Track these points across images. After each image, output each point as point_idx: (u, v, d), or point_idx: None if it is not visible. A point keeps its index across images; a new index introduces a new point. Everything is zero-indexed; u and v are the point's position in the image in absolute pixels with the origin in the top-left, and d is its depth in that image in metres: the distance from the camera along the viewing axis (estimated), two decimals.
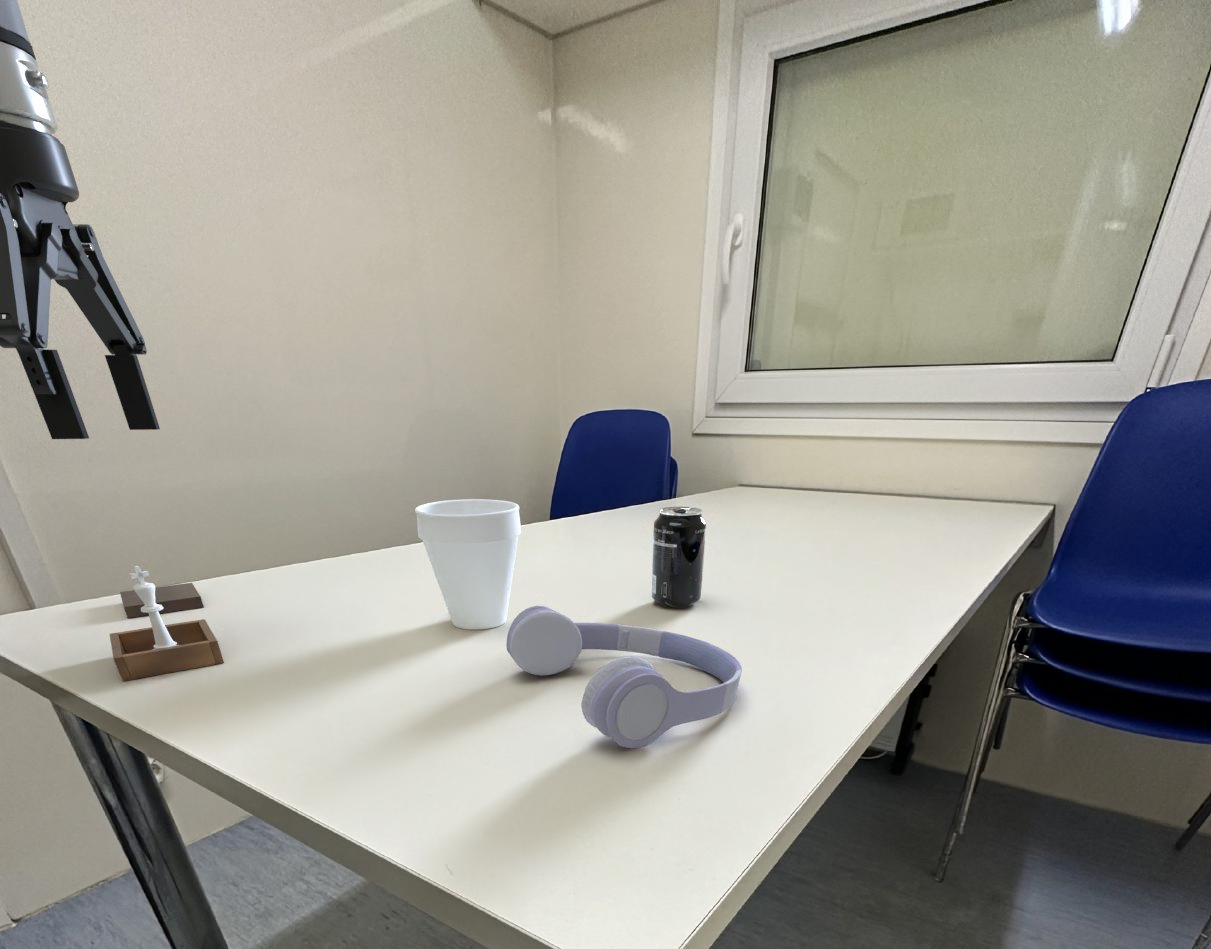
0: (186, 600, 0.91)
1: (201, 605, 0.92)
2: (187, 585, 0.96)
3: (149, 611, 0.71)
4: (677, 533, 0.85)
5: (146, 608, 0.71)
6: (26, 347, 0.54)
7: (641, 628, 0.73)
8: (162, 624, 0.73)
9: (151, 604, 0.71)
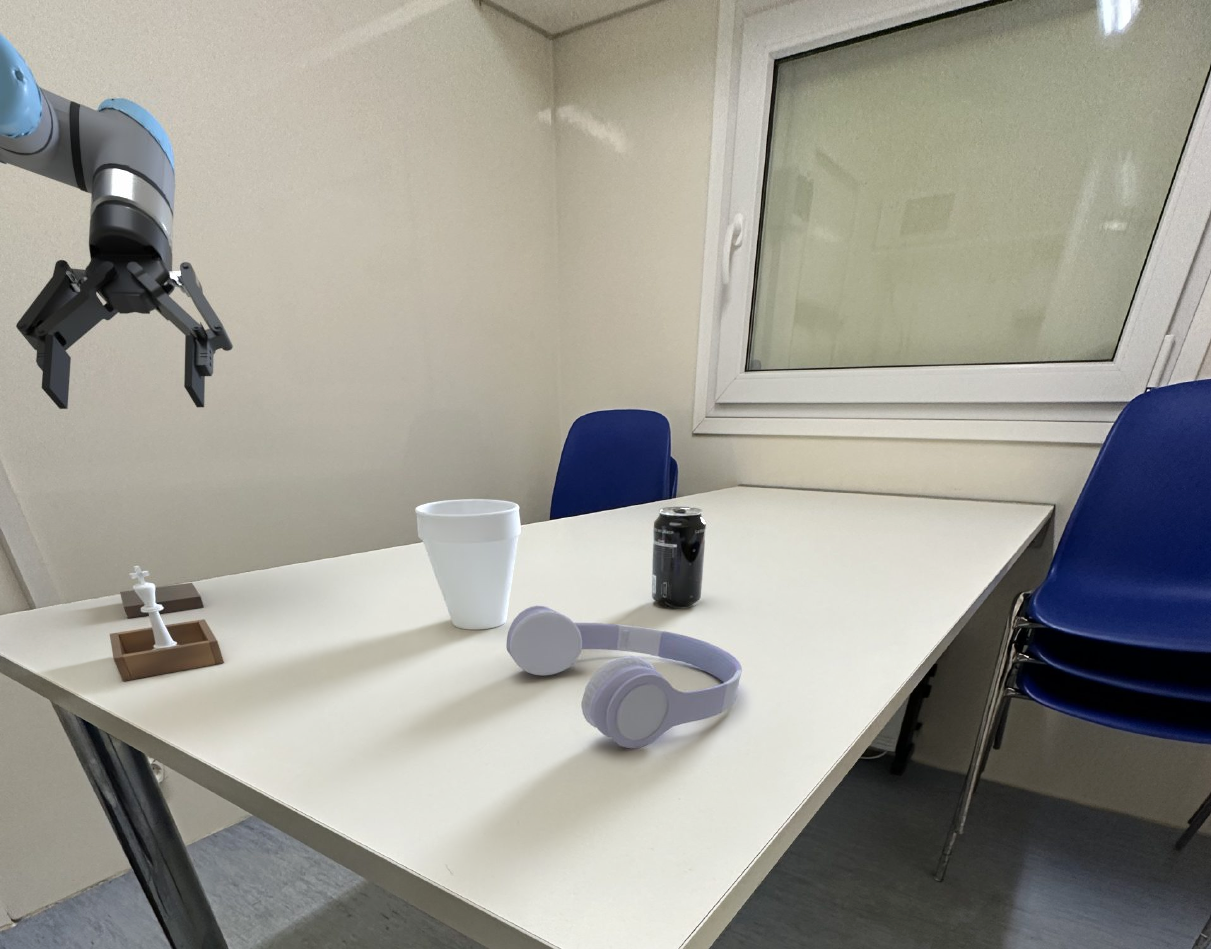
0: (186, 600, 0.91)
1: (201, 605, 0.92)
2: (187, 585, 0.96)
3: (149, 611, 0.71)
4: (677, 533, 0.85)
5: (146, 608, 0.71)
6: (212, 347, 0.73)
7: (641, 628, 0.73)
8: (162, 624, 0.73)
9: (151, 604, 0.71)
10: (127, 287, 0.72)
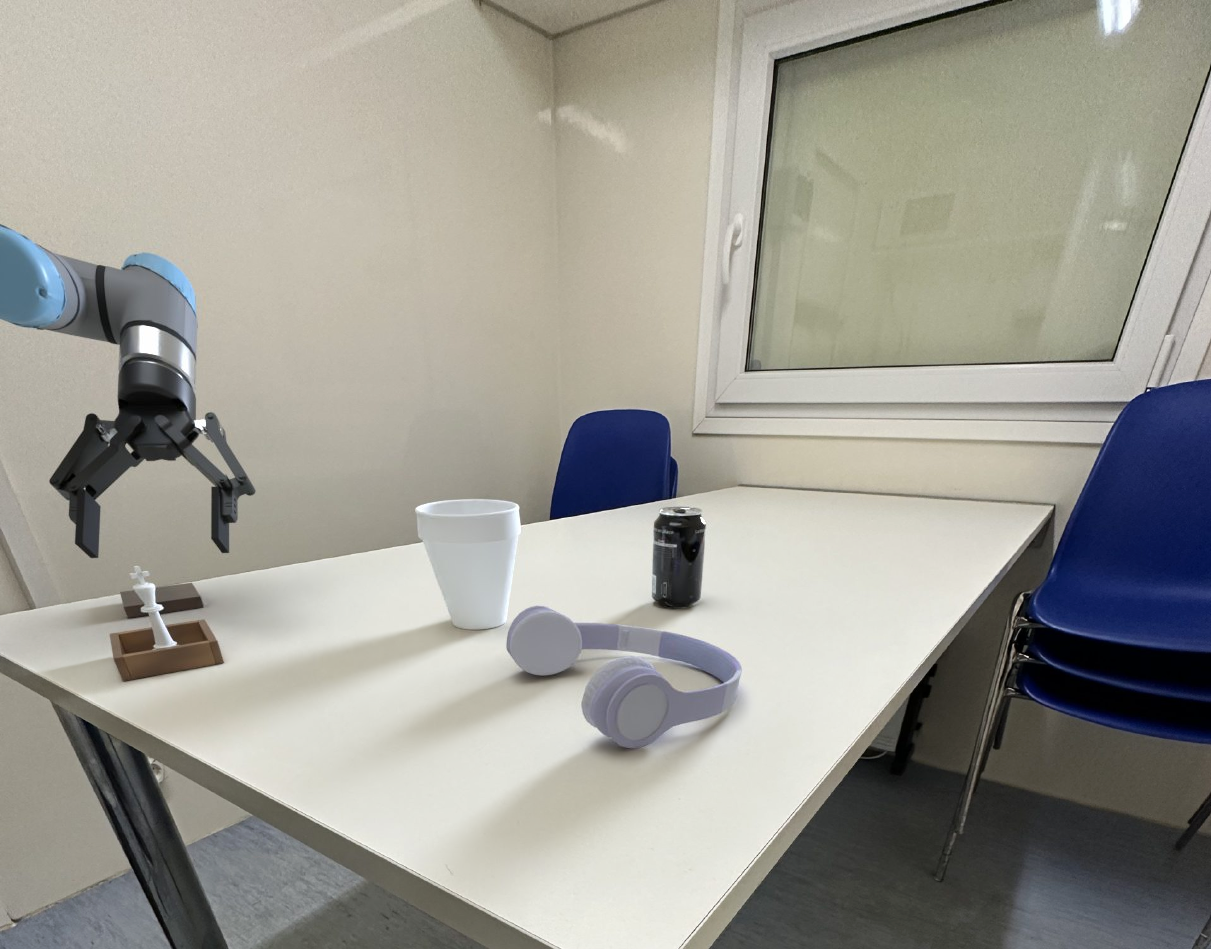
0: (186, 600, 0.91)
1: (201, 605, 0.92)
2: (187, 585, 0.96)
3: (149, 611, 0.71)
4: (677, 533, 0.85)
5: (146, 608, 0.71)
6: (237, 494, 0.76)
7: (641, 628, 0.73)
8: (162, 624, 0.73)
9: (151, 604, 0.71)
10: (155, 438, 0.75)
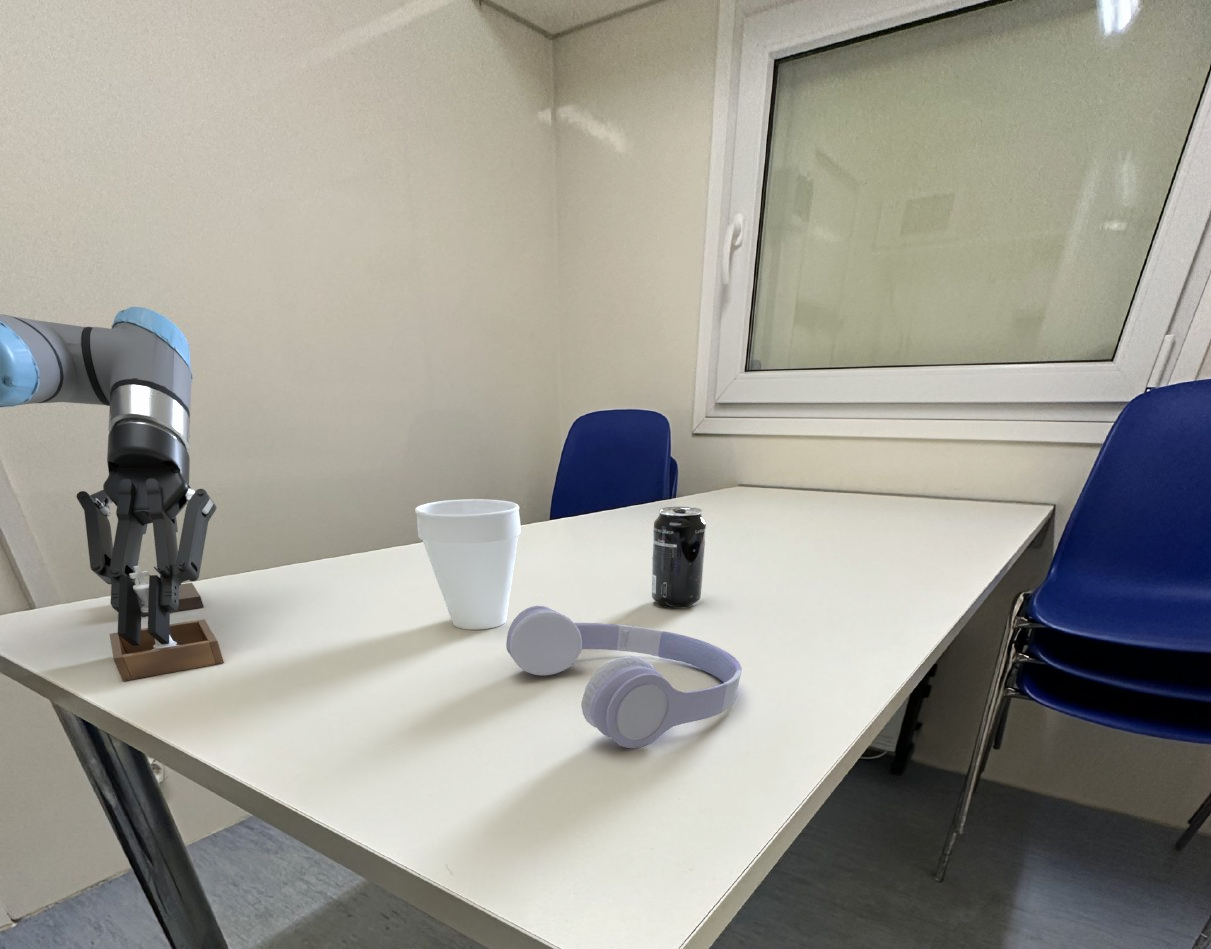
0: (186, 600, 0.91)
1: (201, 605, 0.92)
2: (187, 585, 0.96)
3: None
4: (677, 533, 0.85)
5: (146, 608, 0.71)
6: (178, 581, 0.72)
7: (641, 628, 0.73)
8: None
9: None
10: (146, 502, 0.72)
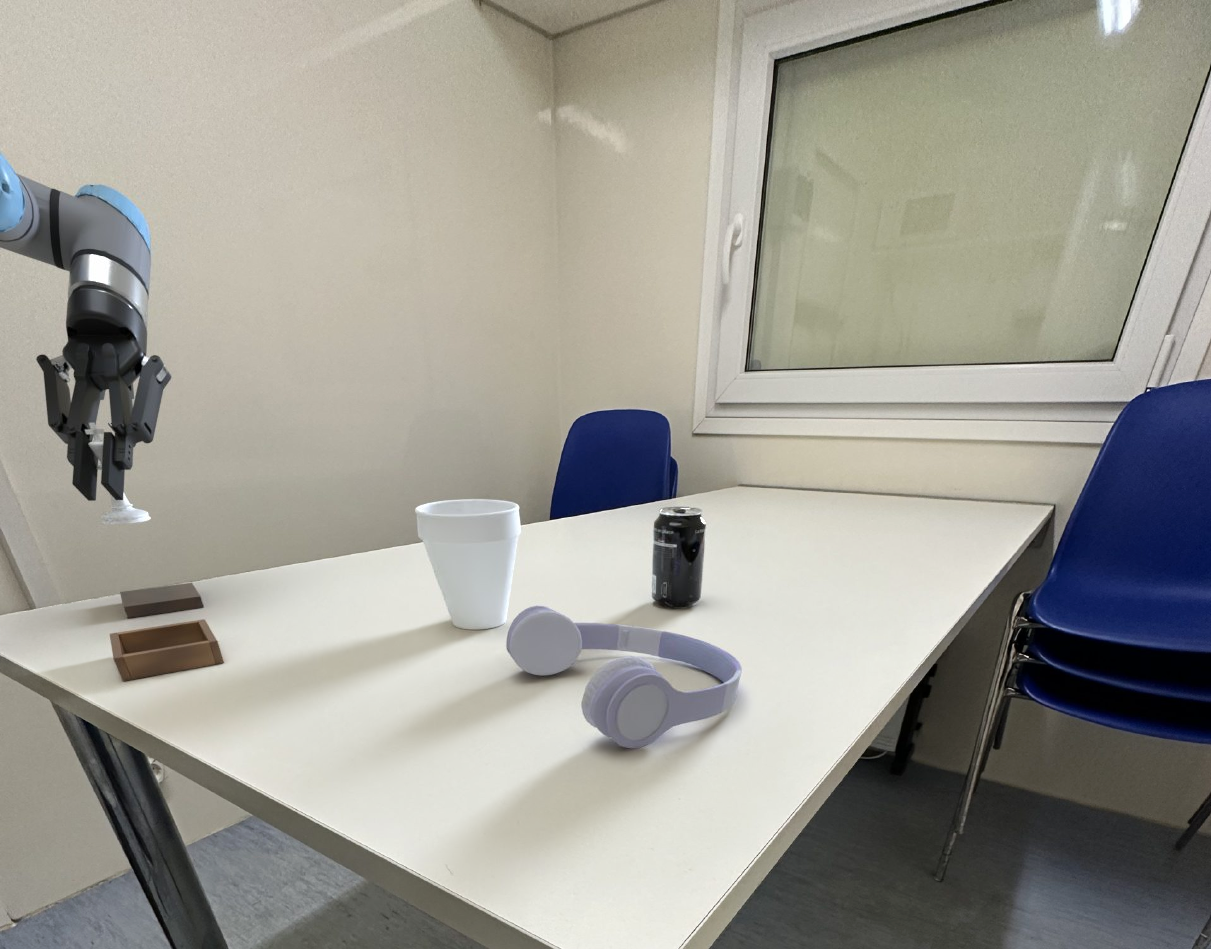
0: (186, 600, 0.91)
1: (201, 605, 0.92)
2: (187, 585, 0.96)
3: None
4: (677, 533, 0.85)
5: (101, 465, 0.75)
6: (132, 441, 0.75)
7: (641, 628, 0.73)
8: None
9: None
10: (102, 366, 0.76)
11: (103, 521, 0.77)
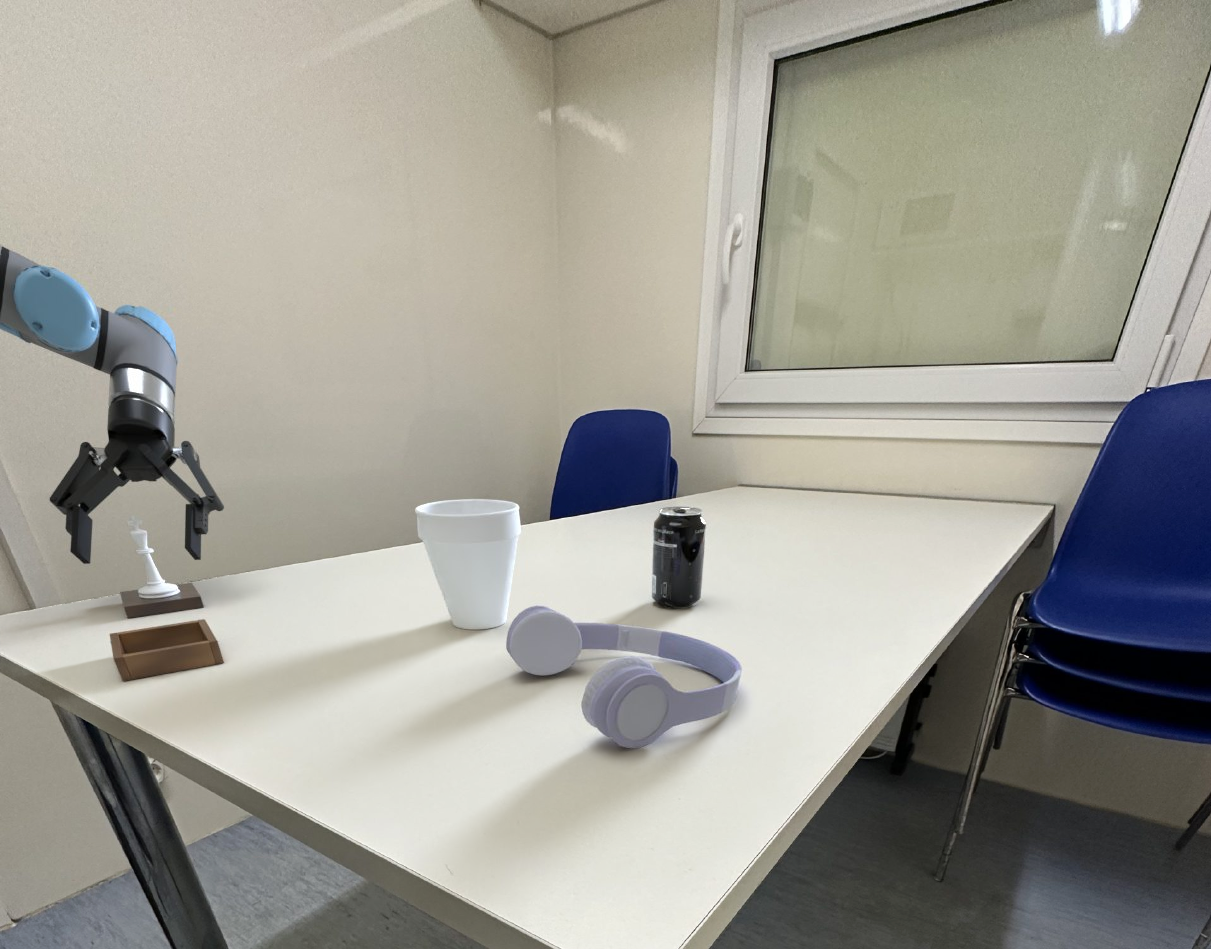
0: (186, 600, 0.91)
1: (201, 605, 0.92)
2: (187, 585, 0.96)
3: (142, 552, 0.89)
4: (677, 533, 0.85)
5: (140, 550, 0.89)
6: (207, 510, 0.90)
7: (641, 628, 0.73)
8: (153, 564, 0.90)
9: (144, 547, 0.89)
10: (138, 463, 0.89)
11: (140, 595, 0.91)
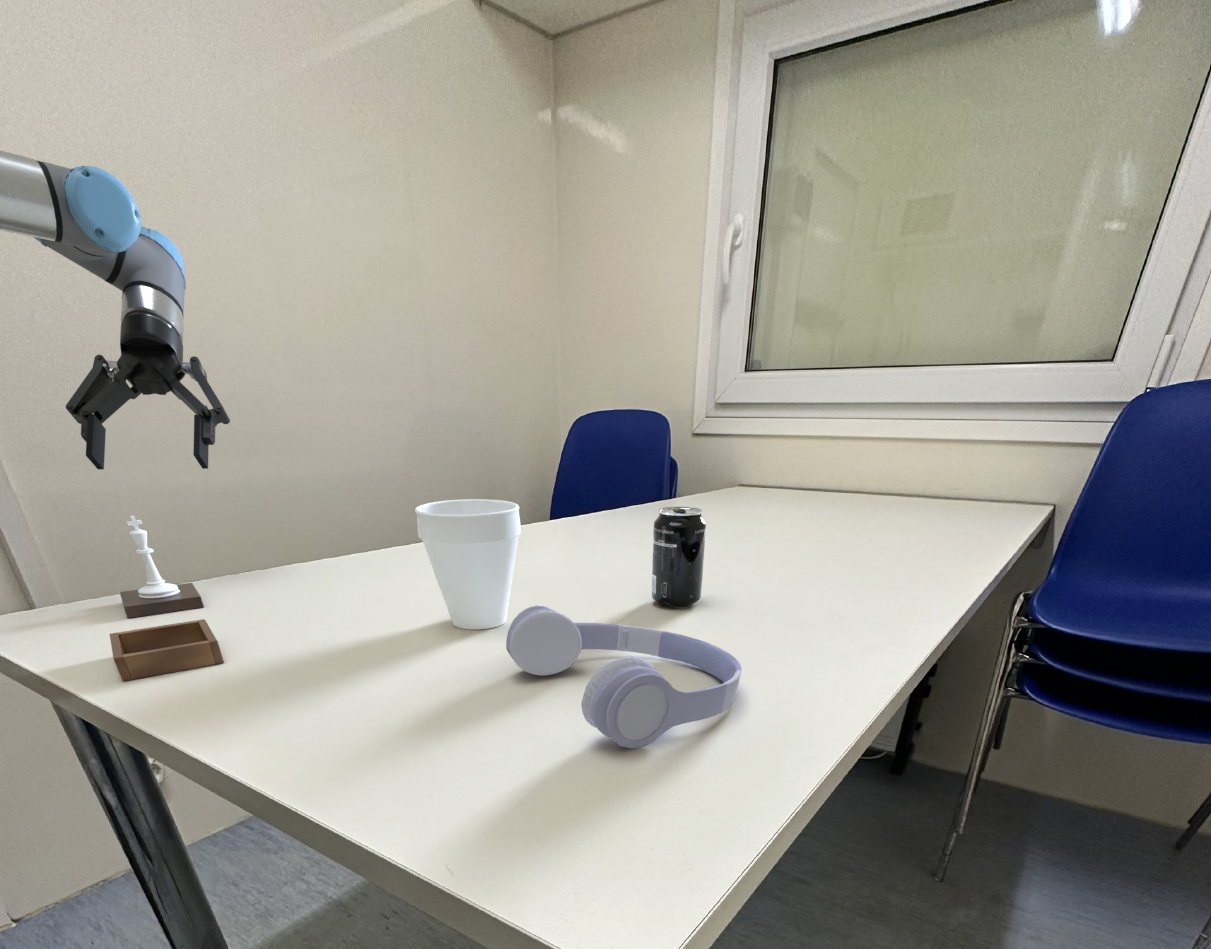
0: (186, 600, 0.91)
1: (201, 605, 0.92)
2: (187, 585, 0.96)
3: (142, 552, 0.89)
4: (677, 533, 0.85)
5: (140, 550, 0.89)
6: (214, 422, 0.96)
7: (641, 628, 0.73)
8: (153, 564, 0.90)
9: (144, 547, 0.89)
10: (149, 376, 0.94)
11: (140, 595, 0.91)
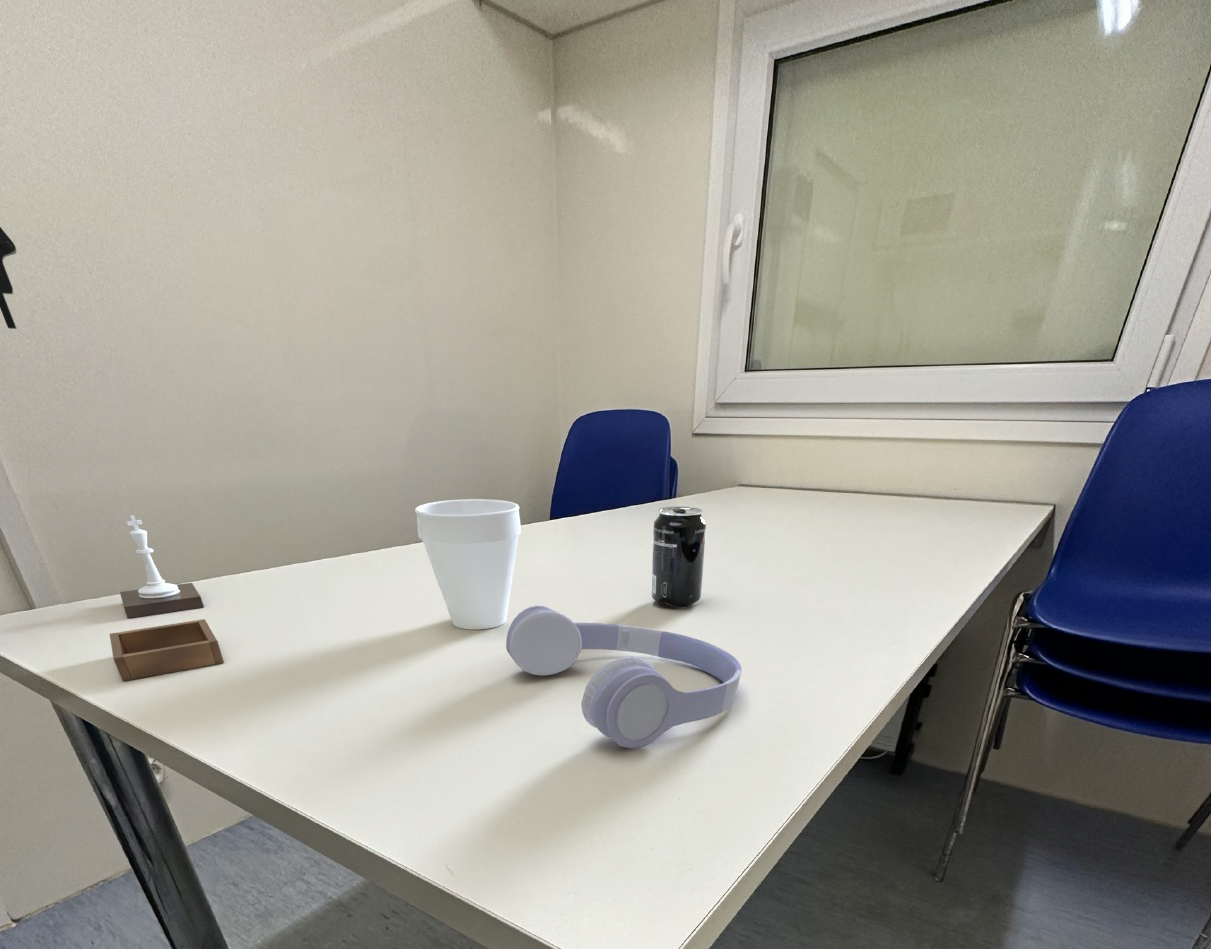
0: (186, 600, 0.91)
1: (201, 605, 0.92)
2: (187, 585, 0.96)
3: (142, 552, 0.89)
4: (677, 533, 0.85)
5: (140, 550, 0.89)
6: None
7: (641, 628, 0.73)
8: (153, 564, 0.90)
9: (144, 547, 0.89)
10: None
11: (140, 595, 0.91)
